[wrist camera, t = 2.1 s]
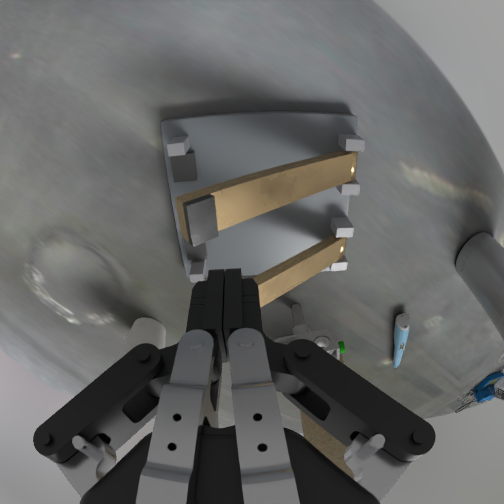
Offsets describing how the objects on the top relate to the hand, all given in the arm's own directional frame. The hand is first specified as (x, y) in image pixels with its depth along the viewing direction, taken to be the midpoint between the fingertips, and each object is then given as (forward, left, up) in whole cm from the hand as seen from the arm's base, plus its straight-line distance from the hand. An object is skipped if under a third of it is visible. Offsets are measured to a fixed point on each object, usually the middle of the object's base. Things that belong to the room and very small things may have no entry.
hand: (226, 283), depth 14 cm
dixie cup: (+16, +27, -20) cm, 37 cm away
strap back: (-12, +10, -17) cm, 23 cm away
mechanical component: (-8, +23, -20) cm, 32 cm away
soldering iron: (-98, +97, -21) cm, 140 cm away
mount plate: (-3, +5, -20) cm, 21 cm away
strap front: (-12, 0, -17) cm, 21 cm away
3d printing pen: (-32, +41, -24) cm, 57 cm away
